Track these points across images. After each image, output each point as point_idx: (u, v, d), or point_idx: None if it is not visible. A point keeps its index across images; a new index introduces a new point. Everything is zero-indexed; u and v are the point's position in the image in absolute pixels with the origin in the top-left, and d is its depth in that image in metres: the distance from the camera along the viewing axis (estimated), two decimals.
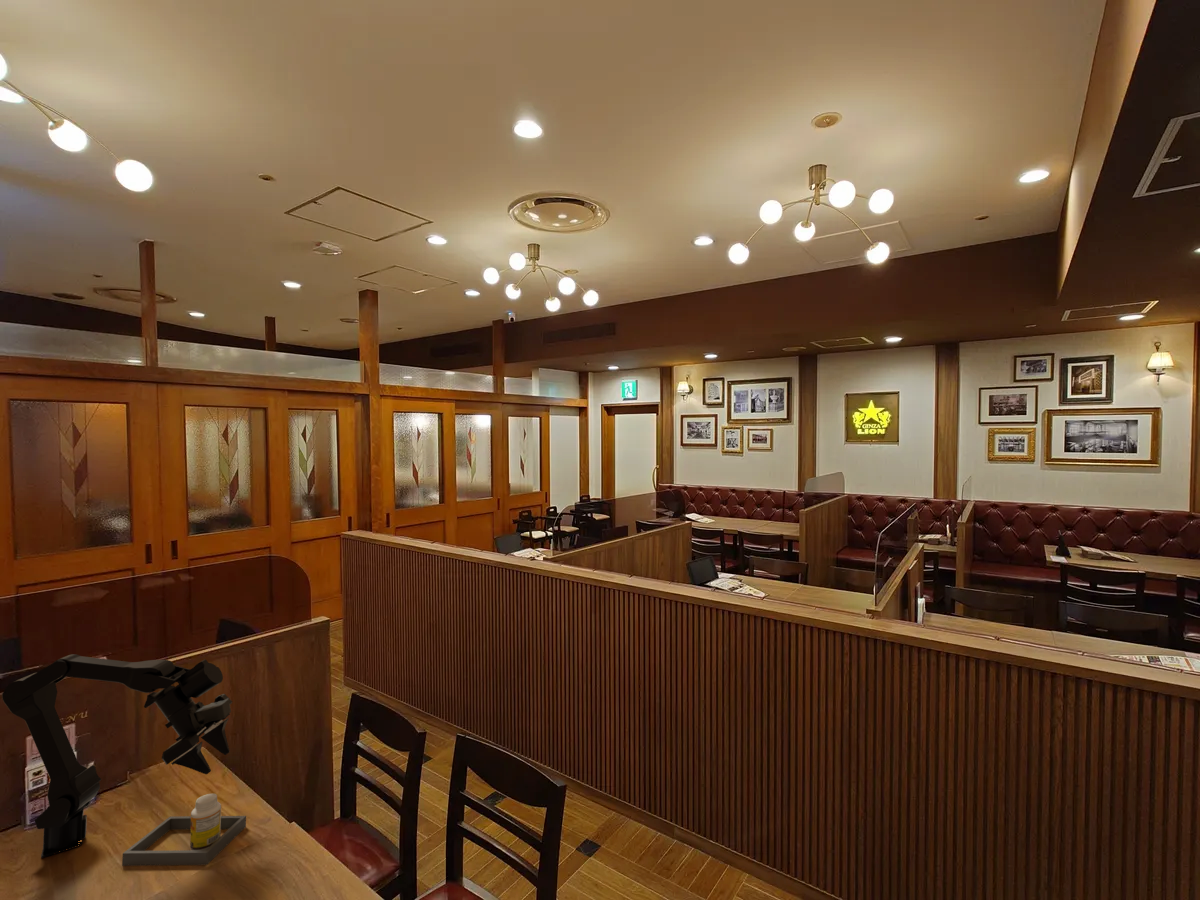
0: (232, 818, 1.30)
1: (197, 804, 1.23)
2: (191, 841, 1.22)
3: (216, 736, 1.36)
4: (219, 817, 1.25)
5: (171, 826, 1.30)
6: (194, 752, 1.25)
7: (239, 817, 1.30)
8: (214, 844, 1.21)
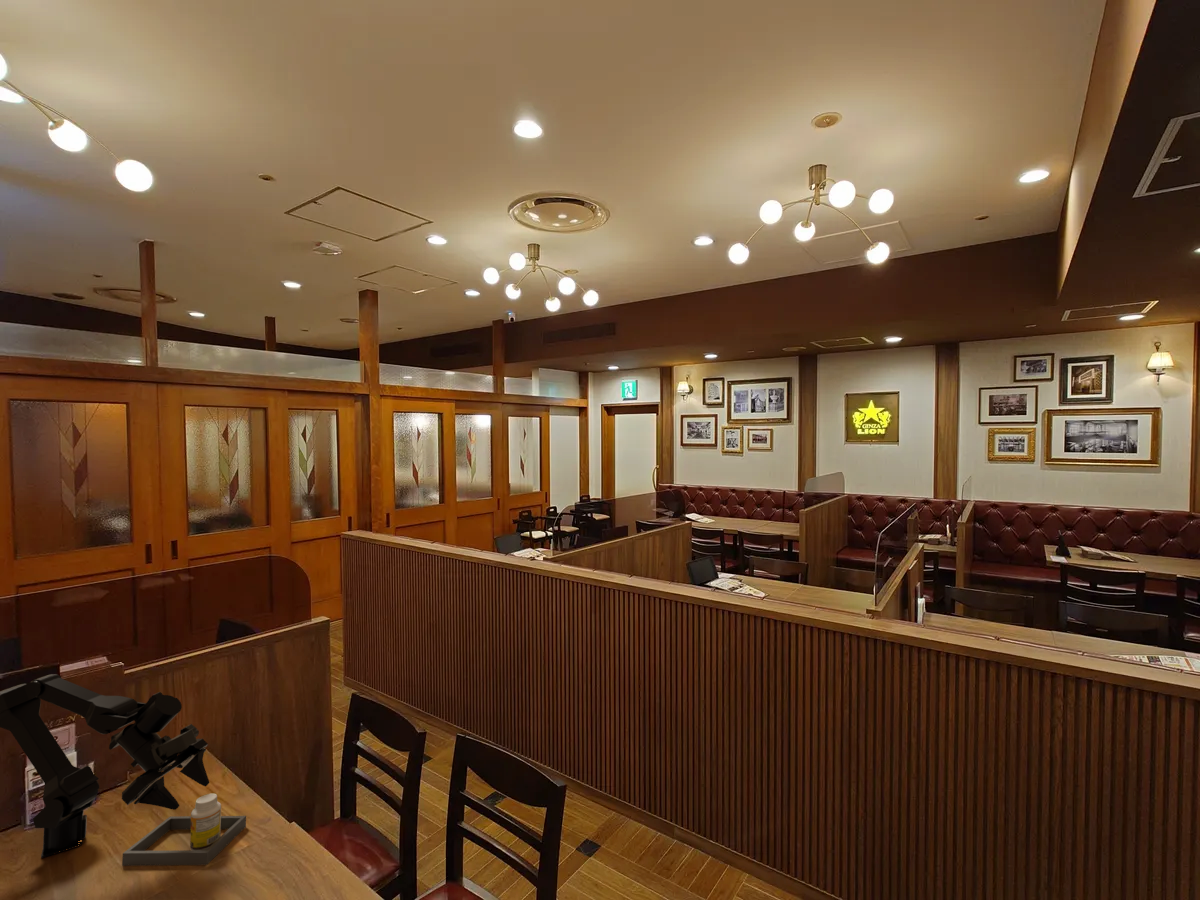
0: (232, 818, 1.30)
1: (197, 804, 1.23)
2: (191, 841, 1.22)
3: (193, 769, 1.30)
4: (219, 817, 1.25)
5: (171, 826, 1.30)
6: (155, 788, 1.19)
7: (239, 817, 1.30)
8: (214, 844, 1.21)
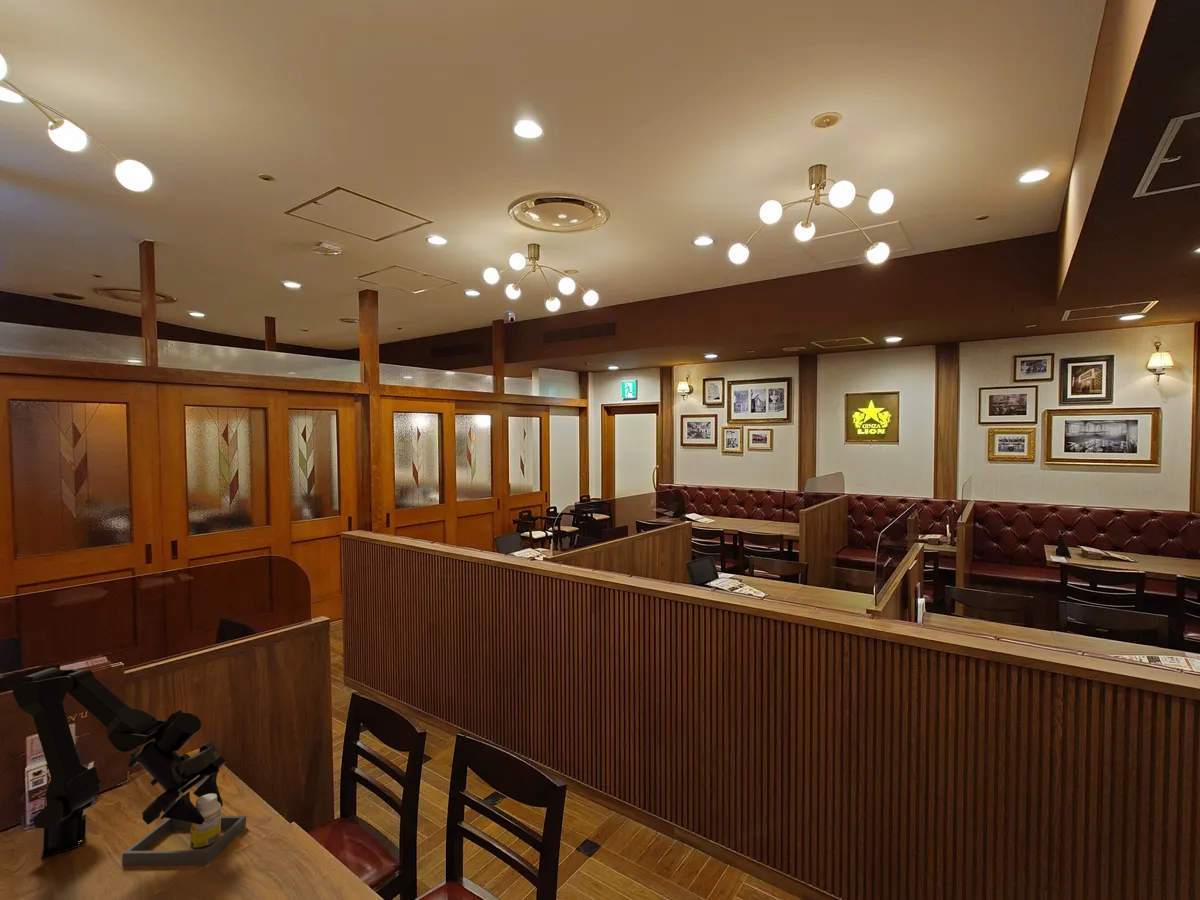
0: (232, 818, 1.30)
1: (197, 804, 1.23)
2: (191, 841, 1.22)
3: (207, 790, 1.28)
4: (219, 817, 1.25)
5: (171, 826, 1.30)
6: (182, 804, 1.20)
7: (239, 817, 1.30)
8: (214, 844, 1.21)
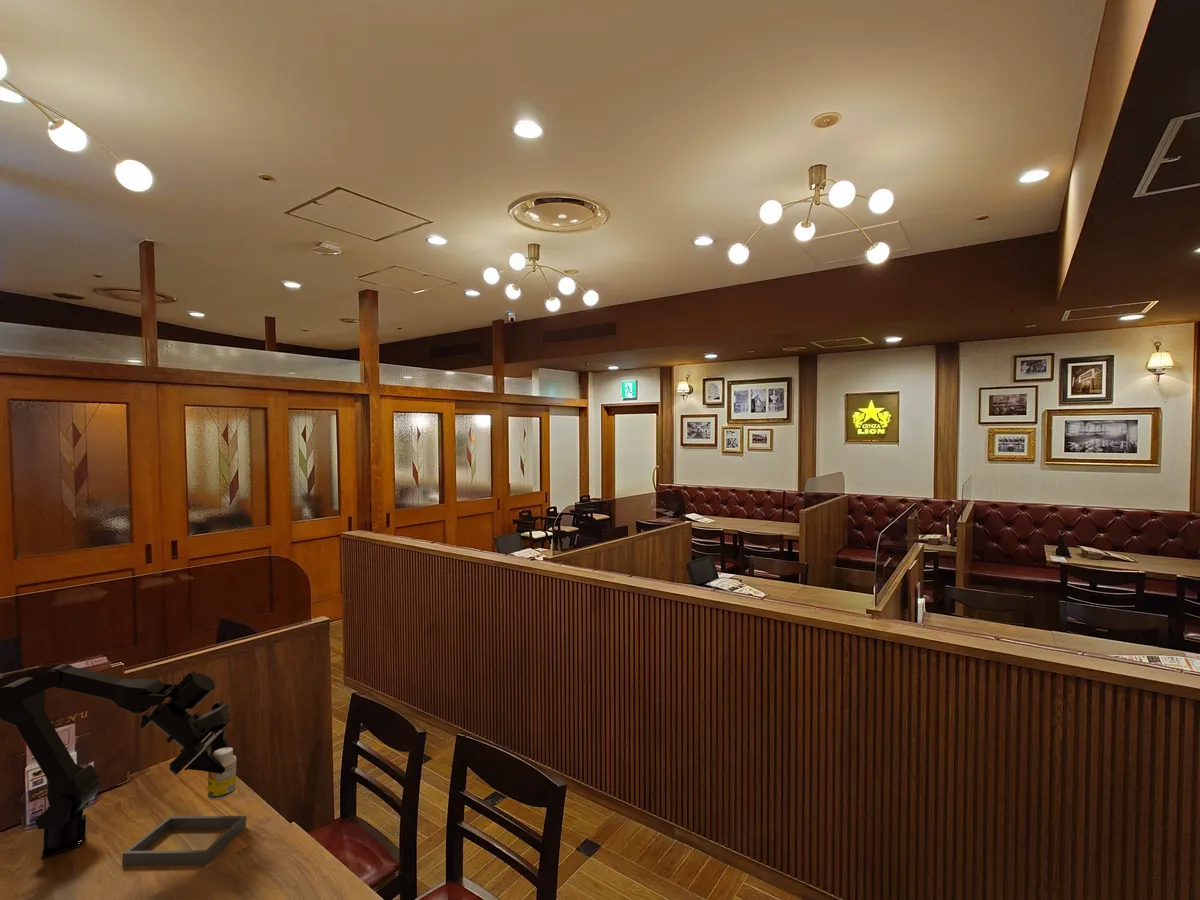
0: (232, 818, 1.30)
1: (216, 756, 1.31)
2: (211, 790, 1.30)
3: (218, 746, 1.36)
4: (235, 767, 1.34)
5: (171, 826, 1.30)
6: (205, 755, 1.28)
7: (239, 817, 1.30)
8: (214, 844, 1.21)
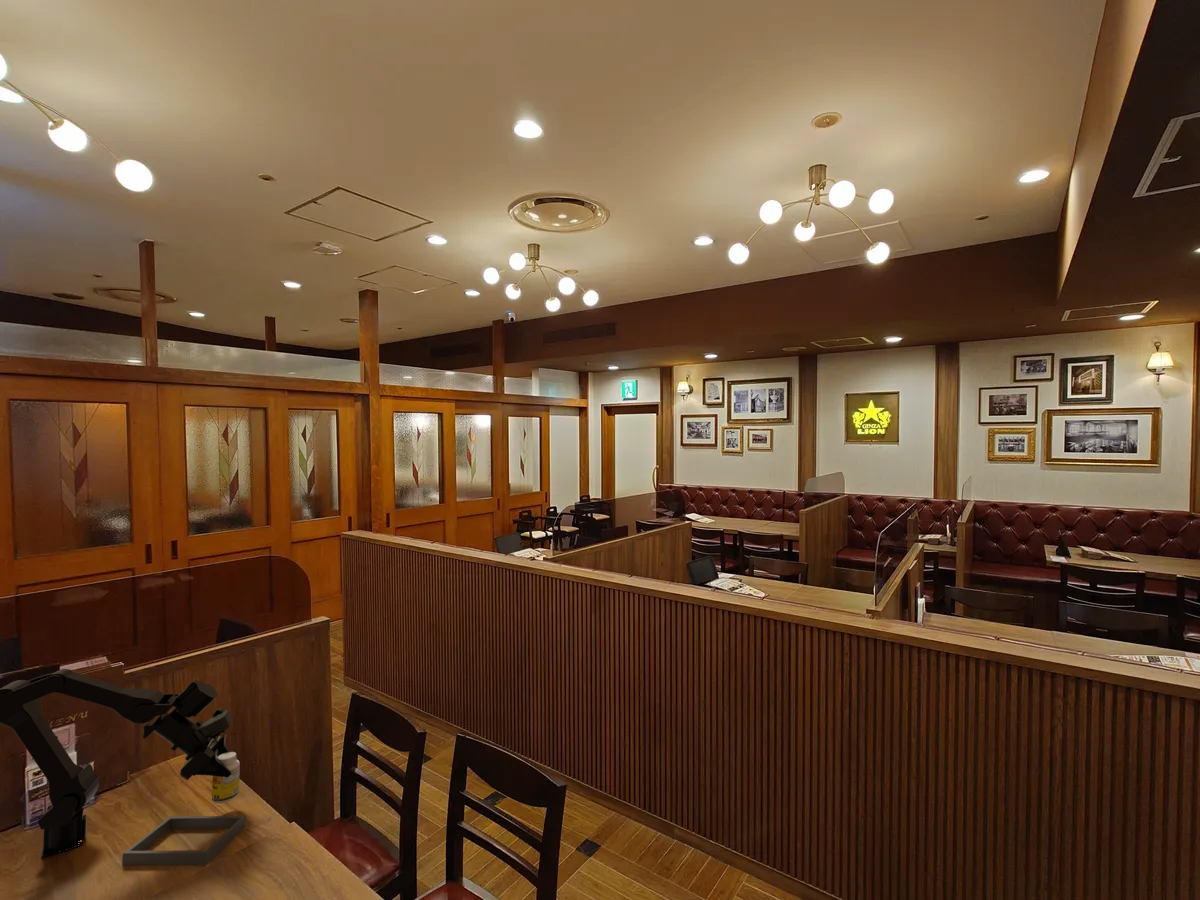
0: (232, 818, 1.30)
1: (221, 761, 1.35)
2: (216, 794, 1.34)
3: (219, 752, 1.40)
4: (239, 771, 1.39)
5: (171, 826, 1.30)
6: (212, 760, 1.32)
7: (239, 817, 1.30)
8: (214, 844, 1.21)
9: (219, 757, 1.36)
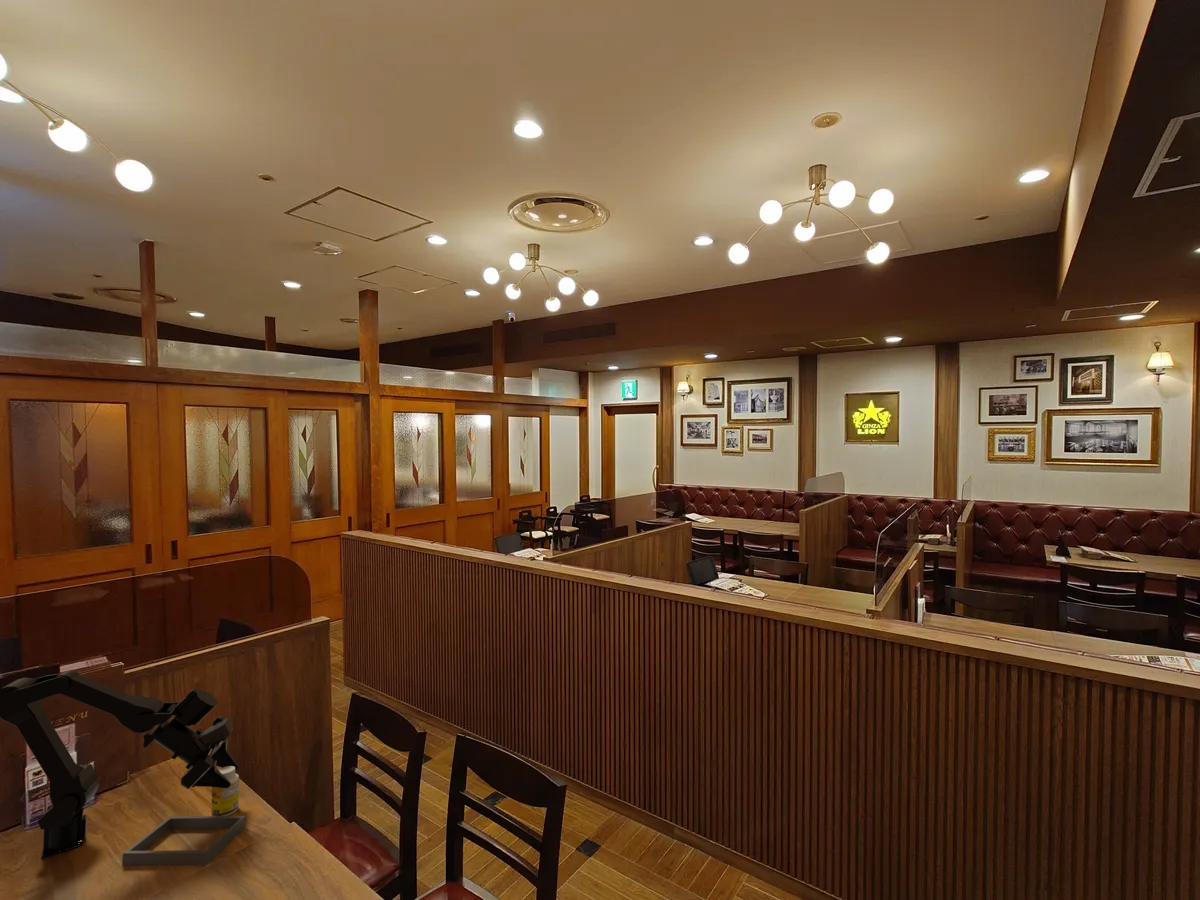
0: (232, 818, 1.30)
1: None
2: (216, 809, 1.34)
3: (221, 757, 1.41)
4: (238, 785, 1.38)
5: (171, 826, 1.30)
6: (211, 771, 1.31)
7: (239, 817, 1.30)
8: (214, 844, 1.21)
9: None
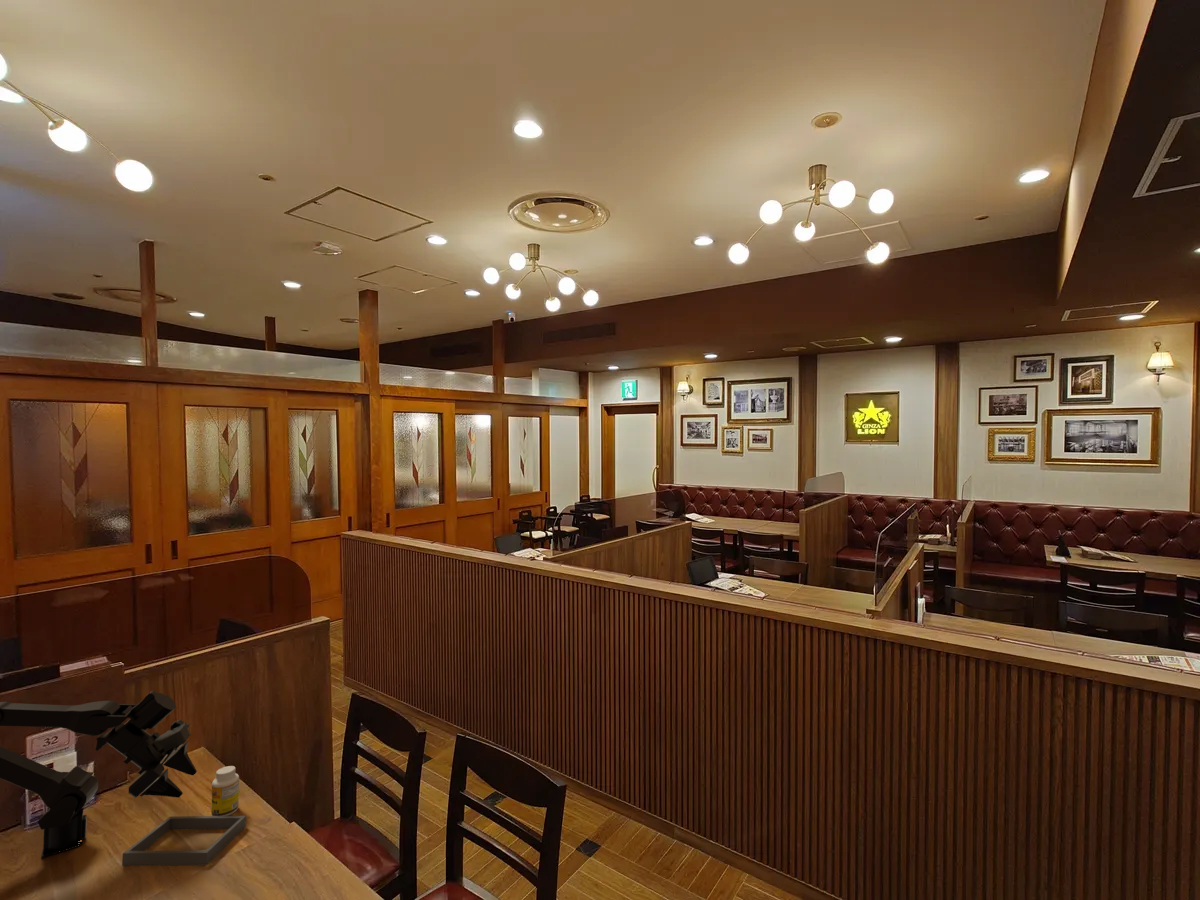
0: (232, 818, 1.30)
1: (220, 775, 1.35)
2: (216, 809, 1.34)
3: (179, 760, 1.38)
4: (238, 785, 1.38)
5: (171, 826, 1.30)
6: (162, 780, 1.27)
7: (239, 817, 1.30)
8: (214, 844, 1.21)
9: (218, 771, 1.36)
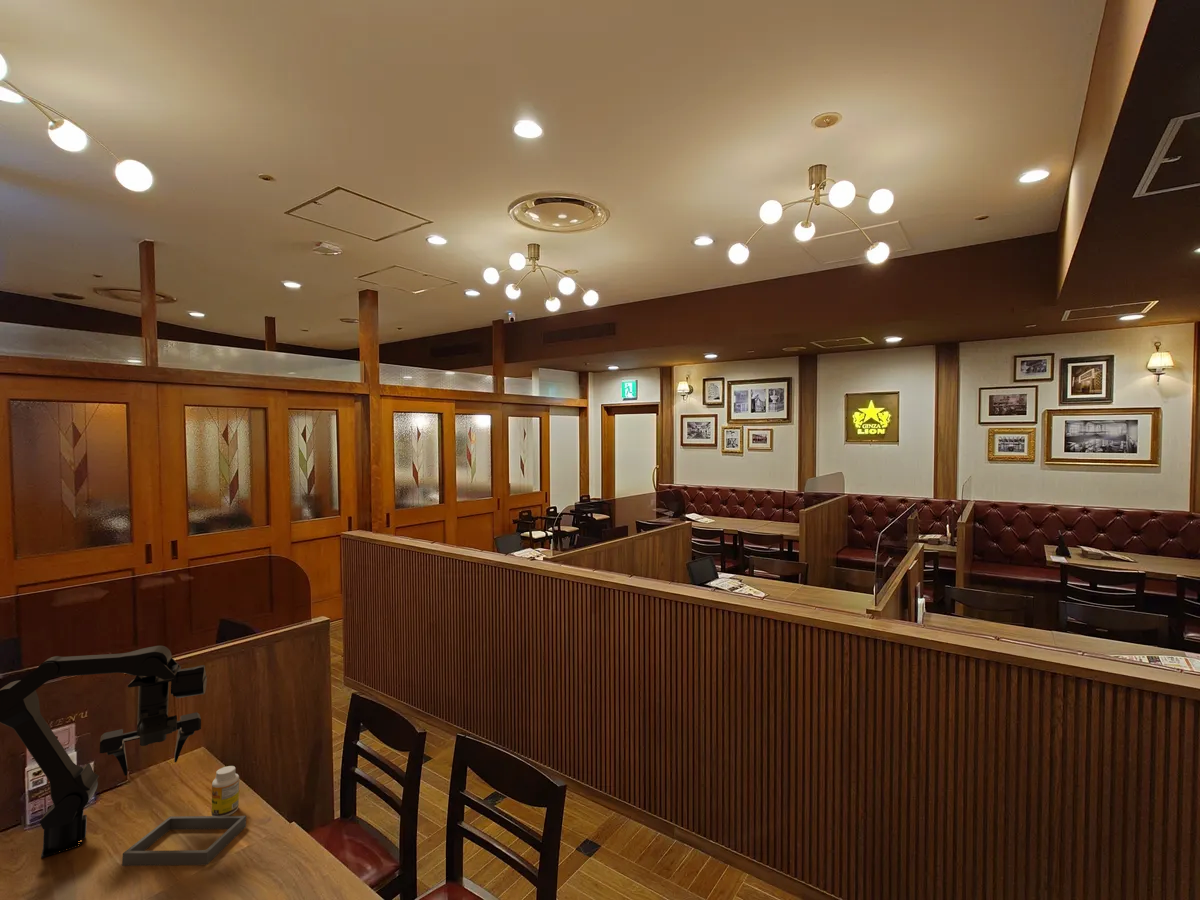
0: (232, 818, 1.30)
1: (220, 775, 1.35)
2: (216, 809, 1.34)
3: (178, 740, 1.36)
4: (238, 785, 1.38)
5: (171, 826, 1.30)
6: None
7: (239, 817, 1.30)
8: (214, 844, 1.21)
9: (218, 771, 1.36)
